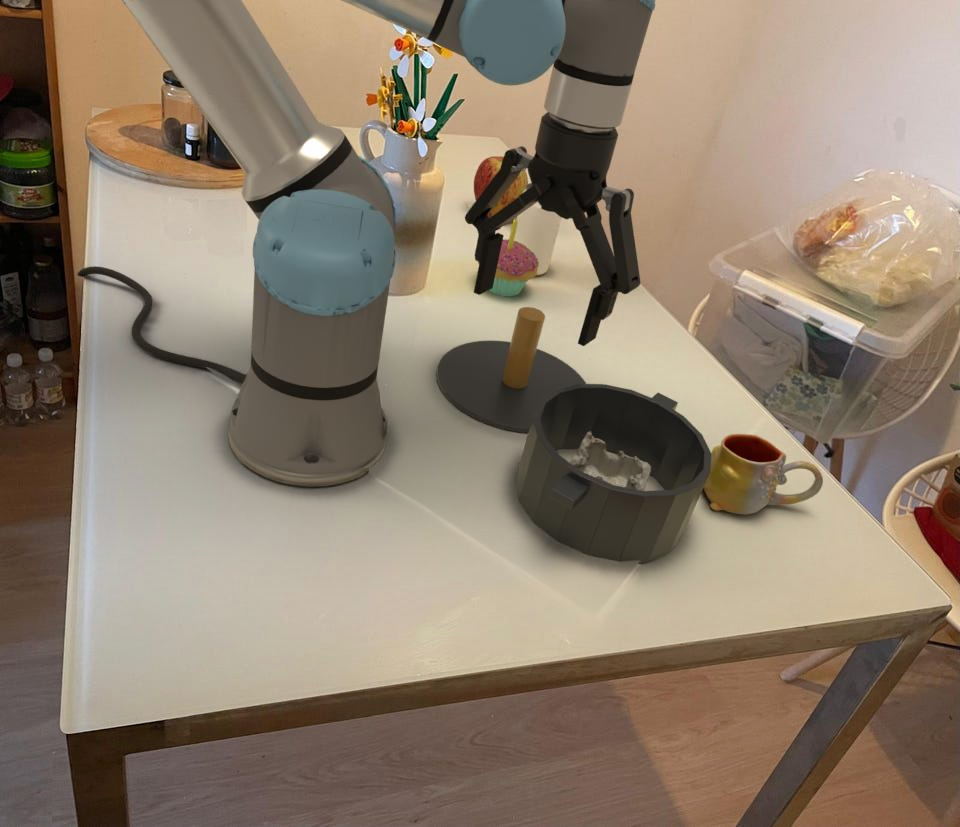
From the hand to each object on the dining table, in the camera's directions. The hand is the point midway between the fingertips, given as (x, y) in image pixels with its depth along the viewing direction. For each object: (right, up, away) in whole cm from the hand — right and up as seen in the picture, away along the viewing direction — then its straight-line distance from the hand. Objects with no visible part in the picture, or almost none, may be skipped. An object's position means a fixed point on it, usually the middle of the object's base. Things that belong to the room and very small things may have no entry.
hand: (533, 315), depth 92 cm
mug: (+23, -20, -3) cm, 31 cm away
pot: (+6, -20, -8) cm, 22 cm away
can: (+1, +11, +34) cm, 36 cm away
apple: (-3, +22, +48) cm, 53 cm away
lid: (-2, -8, +5) cm, 9 cm away
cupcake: (-3, +6, +26) cm, 27 cm away
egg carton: (+6, -19, -8) cm, 22 cm away
